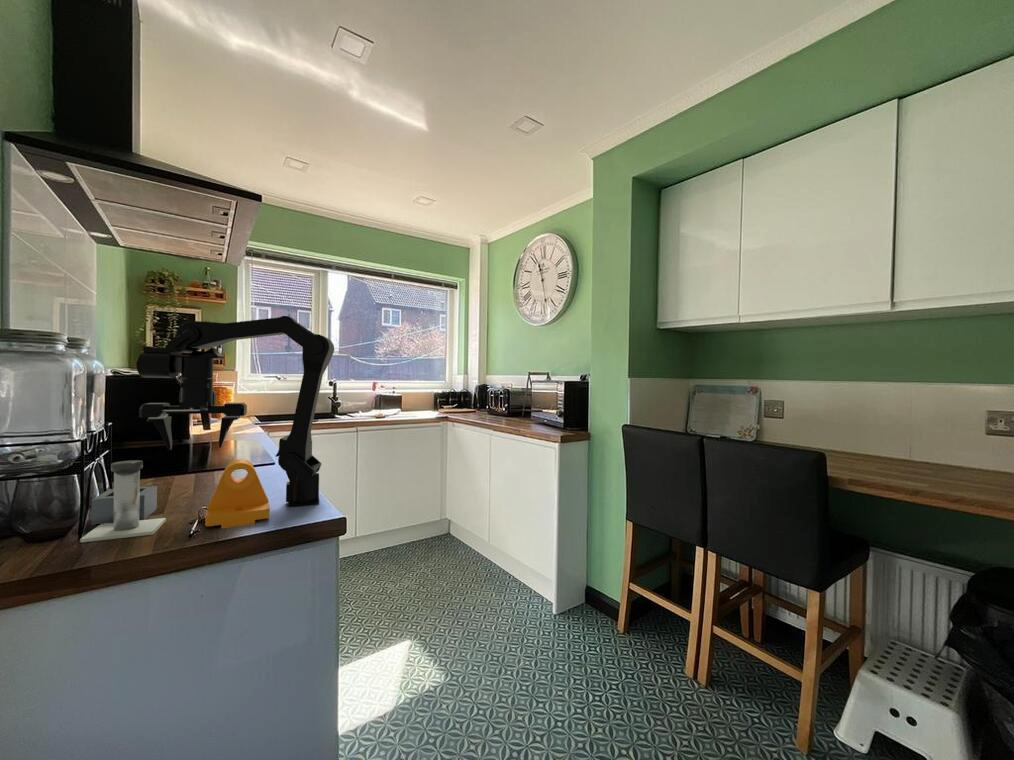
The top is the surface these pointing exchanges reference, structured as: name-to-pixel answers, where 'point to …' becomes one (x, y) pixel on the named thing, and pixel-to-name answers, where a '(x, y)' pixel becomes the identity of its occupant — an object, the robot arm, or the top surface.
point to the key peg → (126, 494)
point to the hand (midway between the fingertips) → (195, 448)
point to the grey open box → (105, 505)
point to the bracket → (237, 498)
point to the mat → (108, 533)
